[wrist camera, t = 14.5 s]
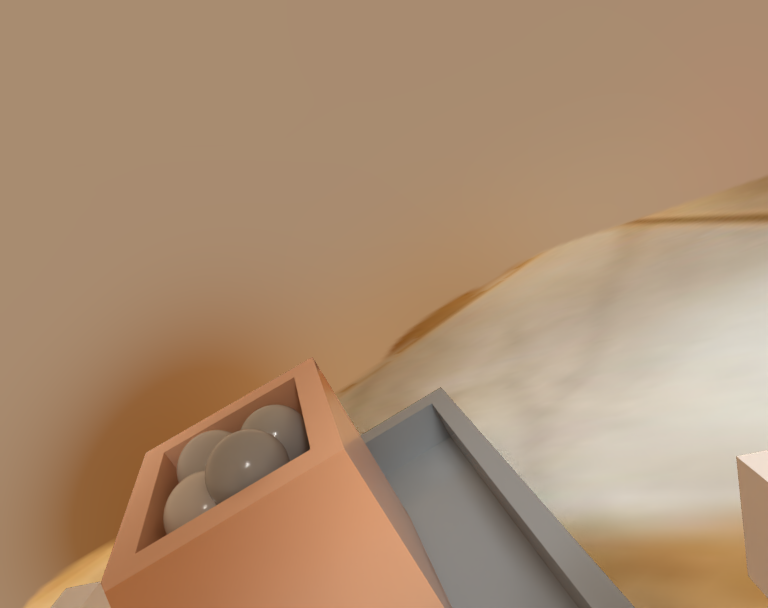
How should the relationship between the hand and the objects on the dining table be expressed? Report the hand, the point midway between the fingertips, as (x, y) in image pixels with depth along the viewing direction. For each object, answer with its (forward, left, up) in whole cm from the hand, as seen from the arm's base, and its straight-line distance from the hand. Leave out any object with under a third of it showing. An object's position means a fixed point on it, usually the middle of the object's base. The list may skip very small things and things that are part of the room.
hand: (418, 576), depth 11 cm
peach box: (+5, -9, -10) cm, 14 cm away
